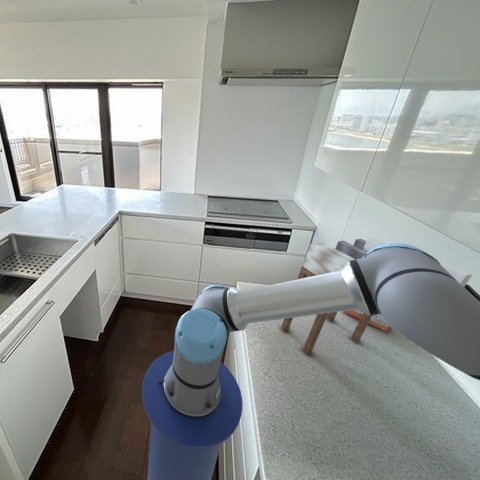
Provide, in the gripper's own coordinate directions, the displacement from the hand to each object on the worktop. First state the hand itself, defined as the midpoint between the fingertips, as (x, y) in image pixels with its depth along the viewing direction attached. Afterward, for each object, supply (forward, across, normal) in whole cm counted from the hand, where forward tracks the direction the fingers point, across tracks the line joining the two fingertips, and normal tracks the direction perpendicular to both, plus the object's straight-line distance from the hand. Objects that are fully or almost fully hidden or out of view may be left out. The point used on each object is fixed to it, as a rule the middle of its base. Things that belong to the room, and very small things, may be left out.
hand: (426, 262), depth 65 cm
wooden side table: (-6, -5, -39) cm, 40 cm away
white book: (-1, 0, -7) cm, 7 cm away
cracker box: (-5, +20, -40) cm, 45 cm away
